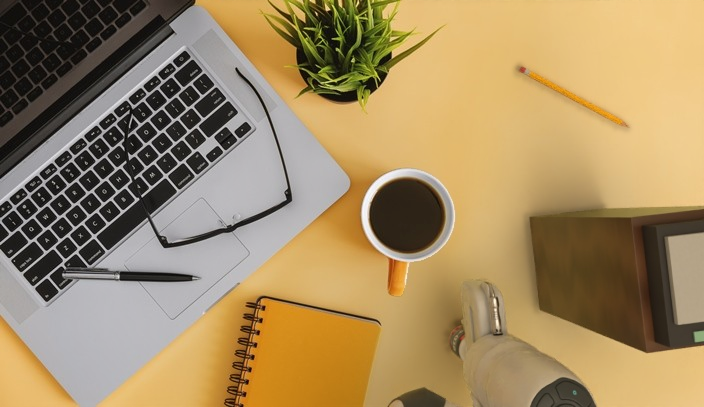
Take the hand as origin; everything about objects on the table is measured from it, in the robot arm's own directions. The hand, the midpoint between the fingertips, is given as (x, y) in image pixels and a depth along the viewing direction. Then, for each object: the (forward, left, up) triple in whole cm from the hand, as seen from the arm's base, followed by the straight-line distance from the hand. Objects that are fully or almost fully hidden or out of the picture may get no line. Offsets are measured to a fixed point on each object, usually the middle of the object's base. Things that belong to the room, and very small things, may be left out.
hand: (469, 345), depth 78 cm
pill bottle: (0, 0, -3) cm, 3 cm away
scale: (+10, -18, +23) cm, 31 cm away
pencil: (+34, -21, -3) cm, 40 cm away
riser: (+10, -18, -3) cm, 21 cm away
